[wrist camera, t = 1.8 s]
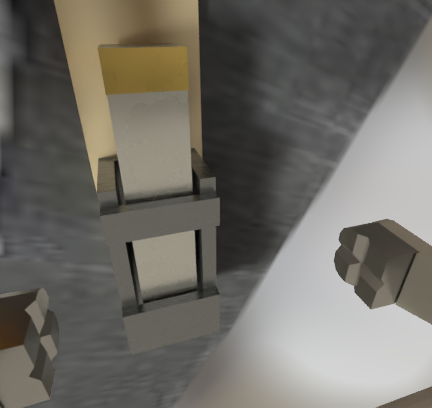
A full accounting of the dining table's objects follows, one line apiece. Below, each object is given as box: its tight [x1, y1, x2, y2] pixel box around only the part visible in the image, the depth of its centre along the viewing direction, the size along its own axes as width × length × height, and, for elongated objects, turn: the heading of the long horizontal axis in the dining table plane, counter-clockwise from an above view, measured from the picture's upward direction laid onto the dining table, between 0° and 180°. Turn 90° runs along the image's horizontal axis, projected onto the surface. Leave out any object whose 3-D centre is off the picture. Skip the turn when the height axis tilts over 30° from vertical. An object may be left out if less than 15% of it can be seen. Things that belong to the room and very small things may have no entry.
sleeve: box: [97, 148, 220, 355], centre depth 23 cm, size 7×14×6 cm, turn 0°
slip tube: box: [98, 43, 197, 304], centre depth 21 cm, size 4×20×4 cm, turn 0°
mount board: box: [54, 0, 202, 192], centre depth 21 cm, size 8×34×1 cm, turn 0°
